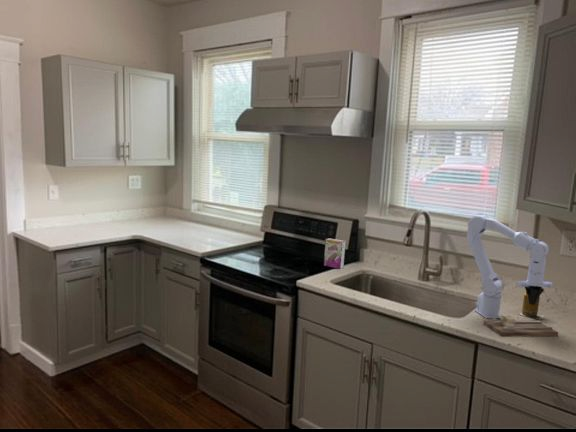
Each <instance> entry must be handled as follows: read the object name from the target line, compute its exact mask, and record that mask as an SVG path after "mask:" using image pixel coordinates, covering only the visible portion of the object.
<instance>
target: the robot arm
mask: <svg viewBox="0 0 576 432" xmlns="http://www.w3.org/2000/svg"><path fill="white" fill-rule="evenodd" d="M486 230H492V231H493V230H494V231H496V232H497V233H500V234H501V235H504V236H505V237H507V238H510V239H511V241H512V243H513V244H514V245H516V246H518V247H519V248H521V249H523V250H524V251H526V252H529V254H530V258H529V262H528V263H529V264H528V271H527V276H526V277H527V279H526V280H520V281H519V280H516V287H518V288H524V289H525V293H526V292H527V295H528V300H529V304H531V305H535V304H536V301H537V299H538V297H539V296H541V295H542V294H543V293H544V290H545V289H544V288H549V289H550V288H552V289H553V285H554V283H553V282H550V281H544V279H545V272H546V264H547V261H546V260H547V254H549V251H550V248H549V245H548V244H547V243H546V242H544V241H539V240H540V239H538V238H534V237H532V236H530V235H528V234H529V233H528V232H526V231H518V232H517V231H515V230H514V229H512V228H510V227H508V226H507V225H506V224H504V223H502V222H500V221H498V220H497V219H495V218H493V217H492V216H489V215H487V214H480V215H474V216H472V217H471V218H470V219H469V221H468V222H467V231H466V240H467V242H468V244H469V248H470V250H471V252H472V255H473V257H474V260H475V262H476V266H477V268H478V270H479V273H480V276H481V279H480V282H481V291H482V292H481V293H480V294H479V295H478V296H477V303H476V309H474V311H475V312H476V313H478V314H479V315H481V316H482V317H483V318H486V319H501V315H502V314H500V311H501V310H500V309H501V300H502V294H501V292H503V290H504V287H505V285H504V283H503V281H502V280H501V279H500V278H499V276H498V274H497V273H495V271H494V269H493V265H492V264H491V262H490V258H489V256H488V254H487V251H486V249H485V246H484V243H483V241H482V239H481V238H482V236H483V234H484V232H485V231H486Z"/></svg>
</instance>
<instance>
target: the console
mask: <svg viewBox="0 0 576 432" xmlns="http://www.w3.org/2000/svg"><path fill="white" fill-rule="evenodd" d="M483 325H484V326H486V327H487V328H489V329H490V330H491V331H493V332H494V333H496V334H497V335H498V336H501V337H546V336H547V337H553V336H554V337H558V335H559V332H558V331H556V330H555V329H553V327H552V326H547V325H546V324H544V323H543V322H542V321H540V320H515V323H514V327H504V326H503V325H501V324H500V320H483Z"/></svg>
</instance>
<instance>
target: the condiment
mask: <svg viewBox="0 0 576 432" xmlns="http://www.w3.org/2000/svg"><path fill="white" fill-rule="evenodd" d="M540 296H541V295H540ZM540 296H539V297H538V299H537V301H536V304H535V305H531V304H529V300H528V295H527V292H526V291H525V292H524V295H523V302H522V306H521V307H522V308H521V312H520V313H519V315H520V316H523V317H527V318H532V319H535V320H542V319H543V318H544V317H545V315H542V314H538V312H539V305H540V304H539V303H540Z"/></svg>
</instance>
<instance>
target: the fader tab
mask: <svg viewBox="0 0 576 432" xmlns="http://www.w3.org/2000/svg"><path fill="white" fill-rule="evenodd" d="M500 315H501V318H500V320H499V321H500V324H501V325H503V326H504V327H514V323H515V321H516V319H515V318H514V317H512V316H510V315H509V314H500Z"/></svg>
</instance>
